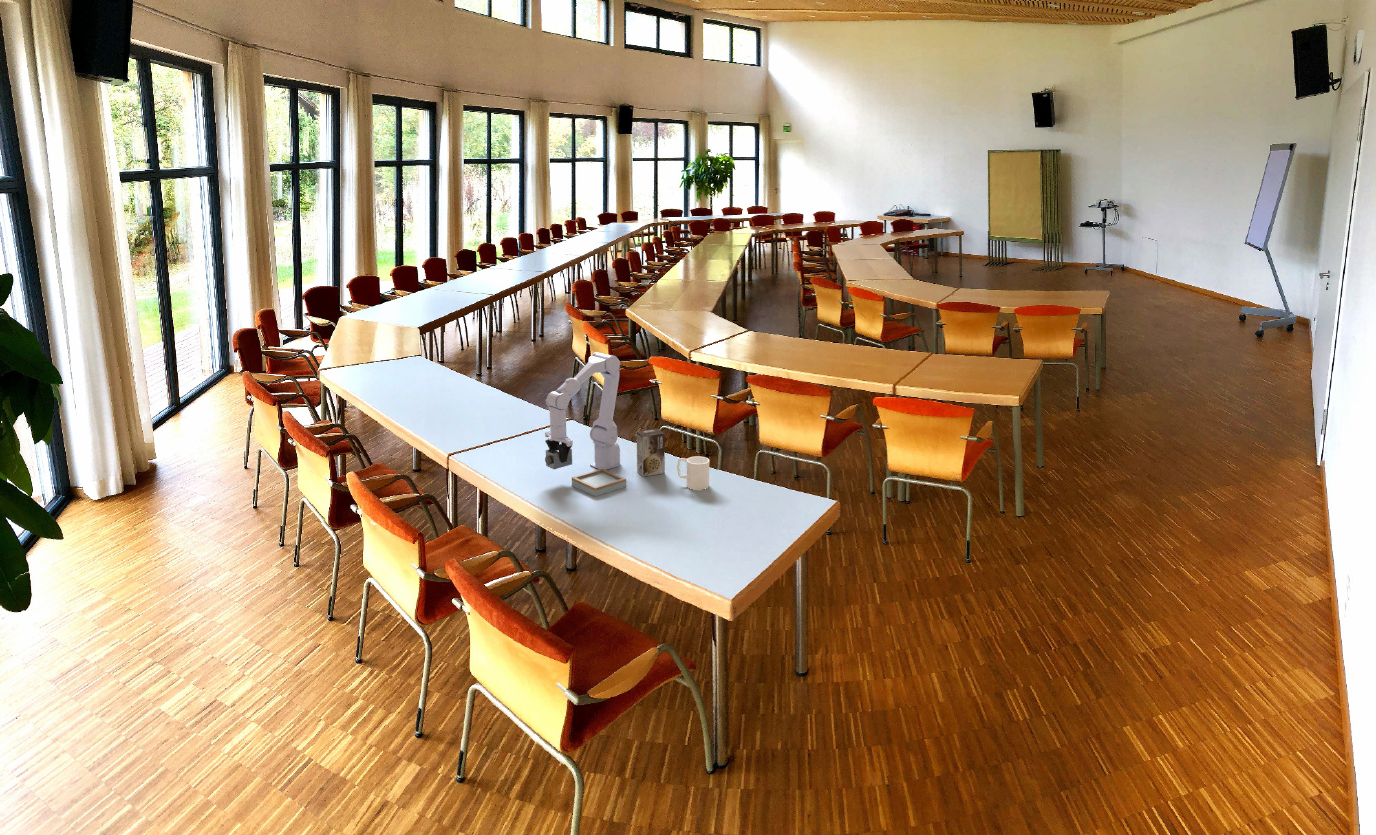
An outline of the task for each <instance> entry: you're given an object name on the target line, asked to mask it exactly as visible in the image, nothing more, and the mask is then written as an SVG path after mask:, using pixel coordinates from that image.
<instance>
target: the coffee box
mask: <svg viewBox="0 0 1376 835" xmlns="http://www.w3.org/2000/svg"><path fill="white" fill-rule="evenodd" d="M665 453H666V451H665V433H664V432H663V431H662V430H661V429H659V428H652V429H645V430H640V431H639V430H638V431H636V471H637V473H638V474H639V475H641V477H643V478H644V477H645V478H646V477H649V476H655V475H660V474H661V475H662V474H666V471H665V470H666V467H665V465H666V462H665V461H666V460H665V459H666V457H665Z"/></svg>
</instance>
